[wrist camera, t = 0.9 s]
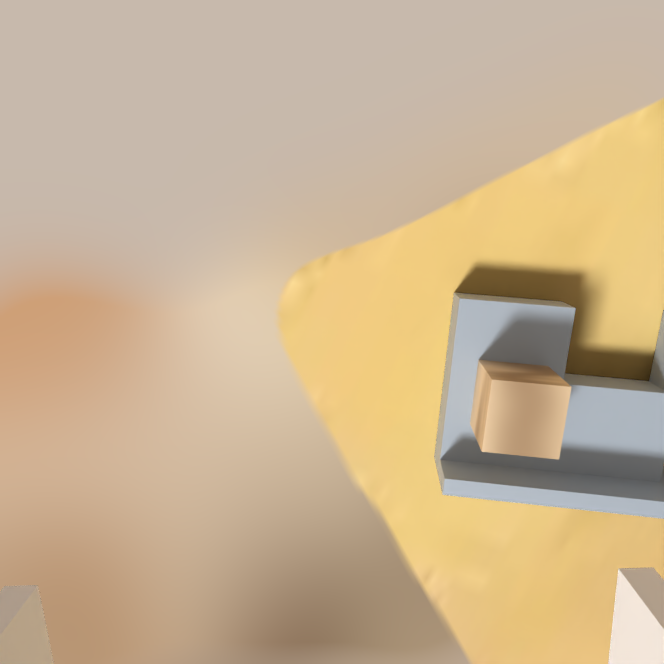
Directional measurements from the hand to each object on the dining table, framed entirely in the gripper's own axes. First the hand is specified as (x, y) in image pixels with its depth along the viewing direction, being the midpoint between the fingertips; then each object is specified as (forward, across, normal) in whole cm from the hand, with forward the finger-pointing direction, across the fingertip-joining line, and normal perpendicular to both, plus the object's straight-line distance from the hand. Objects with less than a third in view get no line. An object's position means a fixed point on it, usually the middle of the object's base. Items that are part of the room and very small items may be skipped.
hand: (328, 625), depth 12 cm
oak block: (+20, -10, +2) cm, 23 cm away
